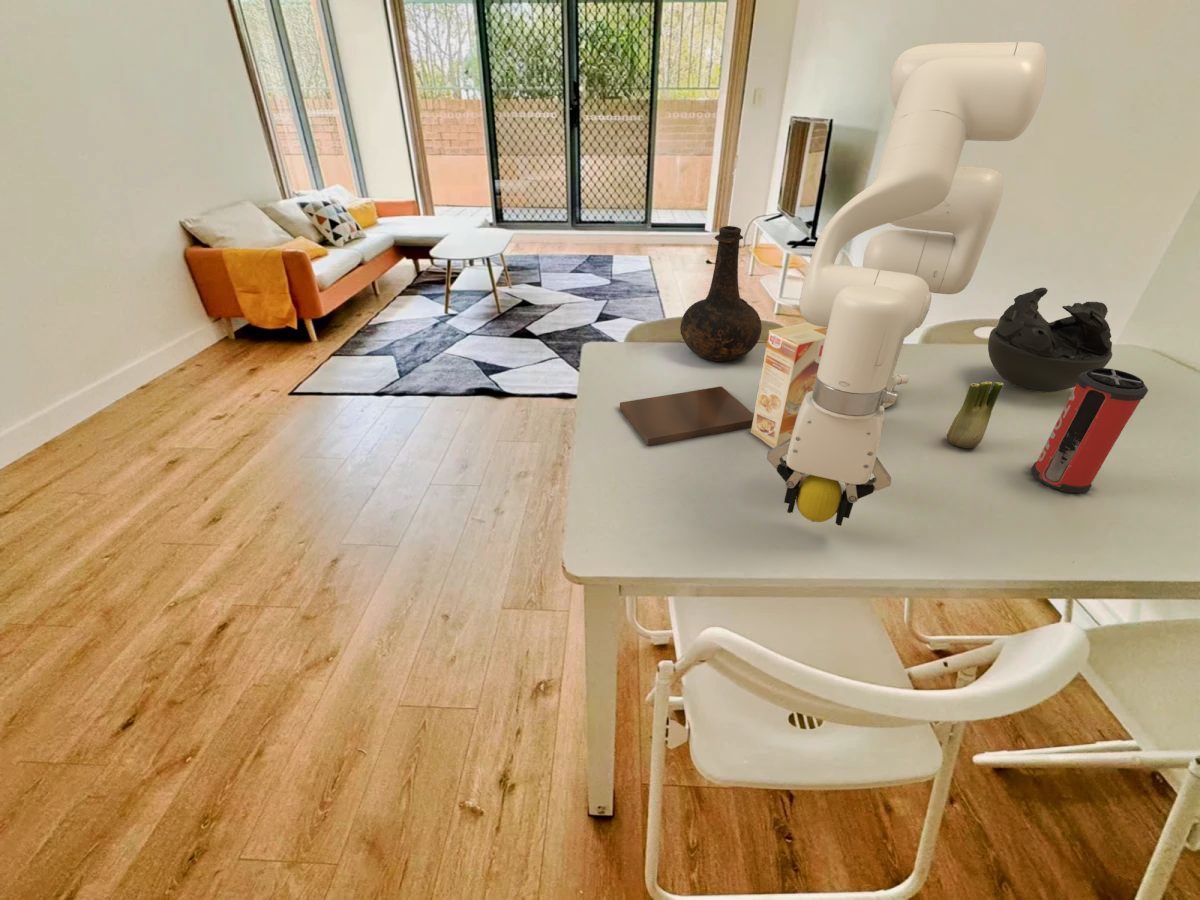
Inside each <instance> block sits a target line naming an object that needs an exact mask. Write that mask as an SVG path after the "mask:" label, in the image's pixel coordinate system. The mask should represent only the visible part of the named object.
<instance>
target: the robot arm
mask: <svg viewBox="0 0 1200 900" xmlns="http://www.w3.org/2000/svg"><path fill="white" fill-rule="evenodd" d="M1046 79H1047V52H1046V48H1045V46H1044V45H1043V44H1042V43H1040V42H1035V41H1001V42H1000V41H999V42H998V41H997V42H943V43H929V44H922V45H917V46H913V47H910V48H909V49H907V50H905V51H904V52H902V53H901V54H899V55H898V57H897V58H896V60H895V62H894V65H893V67H892V70H891V75H890V97H891V100H892V104H893V106H894V109H895V110H894V114H893V117H892V120H891V123H890V126H889V129H888V134H887V137H886V140H885V144H884V147H883V150H882V153H881V157H880V160H879V163H878V166H877V169H876V172H875V177H874V179H873V181H872V183H871V184H870V185H869V186H868V187H866V188H864V189H863V190H862V191H860V192H859V193H858V194H856V195H855V196H853V197H852V198H851V199H850V200H849V201H847V202H846V203H845V204H844V205H842V206H841V208H839V210H837V212H836V213H835V214H834V215H833V216H832V217H831V218H830V219H829V221H828V222H827V223H826V225H825V226H824V228H823V229H822V231H821V232H820V234H819V236H818V238H817V240H816V242H815V245H814V247H813V251H812V254H811V257H810V260H809V263H808V267H807V270H806V273H805V276H804V280H803V282H802V286H801V291H800V296H799V301H798V302H799V303H798V304H799V306H798V307H799V313H800V315H801V317H802V318H803V320H804V321H805V322H808V323H810V324H813V325H816V326H821V327H827V328H828V329H827V333H826V337H825V342H824V346H823V350H822V355H821V359H820V363H819V367H818V372H817V376H816V381H815V385H814V389H813V391H811V392H808V393H807V394H806V396H805V398H804V400H803V402H802V405H801V407H800V409H799V412H798V415H797V418H796V422H795V426H794V429H793V432H792V436H791V438H790V439H788V440H786V441H785V442H783V443H781V444H780V445H778V446H776V447H775V448H771V449H770V450H768V452H767V454H766V460H767V461H768V462H769V463H770V464H771V466H772V467H773V468H775V469H776V472H777V473H778V475H779V476H780V478H782V479H783V481H784V482H785V487H787V488H786V492H785V496H784V500H783V503H785V504H788V507H787V513H788V514H793V513H794V509H795V505H796V498H797V493H798V489H799V484H800V479H801V478H802V477H804V476H805V475H814V476H818V477H822V478H827V479H831V480H836V481H838V482H839V483H840V482H841V483H844V486H845V489H844V490H843V489H842V500H841V504H840V507H839V509H838V511H837V513H836V518H835V524H836V525H837V526H840V527H842V525H843V521H844V519H850V516H851V514H852V509H853V506H854V504H855V503H857V502H858V500H859V499H862V498H864V497H867V496H869V495H871V494H873V493H874V492H876V491H880V490H883V489H885V488H888V487H890V486H892V477H891V475H890V473H889V472H888V471H887V469H886V467H884V465H883V464H882V462H881V461H880V459H879V458H878V452H879V448H880V443H881V438H882V432H883V425H884V421H885V409H886V408H888V407H891V406H892V405H895V404H896V401H897V399H898V398H897V397H898V392H894V391H893V388H895V387H896V386H897V385H898V386H899V385H904V384H908V382H909V380H910V377H909V375H908V374H906V373H903V374H897V375H895V374H894V373H895V370H896V367H897V364H898V361H899V357H900V354H901V350H902V347H903V344H904V342H905V339H906V338H907V337H909V336H910V335H911V334H912V333H913V332H914V331H915V330H916V329H919V328H921V327H922V325H923V323H924V322H925V320H926V318H927V315H928V313H929V311H930V307H931V303H932V294H940V295H955V294H959V293H961V292H962V291H964V290H965V289H966V288H967V287H968V285H969V284H970V282H971V281H972V279H973V276H974V274H975V272H976V270H977V267H978V264H979V261H980V259H981V256H982V253H983V251H984V249H985V246H986V243H987V240H988V237H989V235H990V232H991V229H992V227H993V225H994V221H995V219H996V216H997V213H998V210H999V207H1000V204H1001V201H1002V197H1003V191H1004V179H1003V176H1002V175H1001V173H1000V172H999V171H997V170H996V169H993V168H989V167H983V166H970V165H969V166H968V165H958V164H959V161H960V159H961V155H962V151H963V149H964V145H965V141H975V142H1011V141H1014V140H1016V139H1017V138H1019V137H1021V135H1023V134H1024V132H1025V131H1026V130H1027V129H1028V128H1029V126H1030V124H1031V122H1032V120H1033V118H1034V117H1035V115H1036V113H1037V110H1038V108H1039V105H1040V104H1041V100H1042V96H1043V93H1044V89H1045V84H1046ZM886 224H890V225H893V226H895V227H899V228H902V229H885V230H883V231H880V232H877V233H876V234H874V235H873V236H871V238H870V239H869V240H868V242H867V244H866V246H865V249H864V254H863V259H862V266H853V265H846V264H835V263H836V260H837V258H838V255H839V253H840V251H842V249H843V247H845V245H847V243H849V242H850V241H851V240H853V239H854V238H856V237H858V236H859V235H860V234H861V235H862V234H863V233H865V232H867V231H869V230H872V229H874V228H877V227H881V226H883V225H886ZM931 231H932V232H931ZM939 232H940V233H939ZM949 233H950V234H949ZM784 456H786V460H785V459H784V458H783V457H784ZM872 475H873V476H874V477H872ZM871 477H872V478H871Z"/></svg>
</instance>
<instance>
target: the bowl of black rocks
mask: <svg viewBox="0 0 1200 900" xmlns="http://www.w3.org/2000/svg"><path fill="white" fill-rule="evenodd" d="M1048 291H1049V289H1047V287H1038V288H1035V289H1033V290H1032V291H1029V292H1025V293H1022V294H1018V295H1017V296H1016V297H1015V298H1013V301H1014V303H1013V304H1011V305H1009V307H1008V308H1007V309H1005V310H1004V312H1003V314H1002V315H1001V316H999V320H998V323H997V325H996V327H994V328H993V329H992V330H991V331H990V333H989V337H988V342H987V350H988V357H989V360H990V362H991V364H992V365H991V366H992V367H993V368H994V370H995V372H997V374H998V375H999V376H1000V377H1001V378H1002V379H1003V380H1005V381H1006V382H1007V383H1009V384H1011V385H1013V386H1015V387H1017V388H1018V389H1019V388H1020V389H1022V390H1025V391H1030V392H1035V393H1056V392H1061V391H1066V390H1069V389H1072V388H1073V389H1074V388H1075V386H1076V384H1077V379H1078V377H1079V375H1080V374H1081V373H1083V372H1086V371H1089V370H1091V369H1094V368H1106V366H1107V365H1108V364H1109V362H1110V361H1111V359H1112V357H1113V351H1112V349H1113V348H1112V346H1113V342H1112V340H1111V338H1112V333H1111V328H1110V325H1109V323H1108V321H1107V320H1106V316H1107V315H1108V312H1109V311H1108V307H1107V305H1106V303H1104V302H1101V301H1085V302H1083V303H1081V302H1074V303H1073V304H1072V305H1062V307H1061V308H1062V309H1063V310H1065V311H1066V312H1067V313H1069V314H1070V315H1069V316H1066V317H1063V318H1059V319H1056V320H1054V321H1051V322H1049V321H1047V320H1046V319H1045V318H1044V317H1043V315H1042V314H1041V313H1040V311H1039V302H1040V300H1041V299H1042V298H1043V297H1044V296H1045V295H1046V294H1047V293H1048Z"/></svg>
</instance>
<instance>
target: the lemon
mask: <svg viewBox="0 0 1200 900" xmlns="http://www.w3.org/2000/svg"><path fill="white" fill-rule="evenodd" d="M805 477H806V476H805ZM842 493H843V490H842V486H841V483H840V481H836V480H831V479H827V478H822V477H818V476H814V475H809V474H807V477H806V478H805V479H804V480H803V482H802V483H801V485H800V487H799V489H798V493H797V497H796V501H795V503H796V506H797V507H796V508H797V510H798V511H799V513H800V515H802V516H803V517H804V518H805V519H806V520H808V521H810V522H812V523H815V522H816V523H823V522H827V521H829V520H830V519H832V518H833V517H834V516H835V515H837V511H838V509H839V507H840V504H841V500H842Z"/></svg>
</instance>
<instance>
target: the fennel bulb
mask: <svg viewBox="0 0 1200 900" xmlns="http://www.w3.org/2000/svg"><path fill="white" fill-rule="evenodd" d="M992 385H993V386H992ZM1003 387H1004V383H1003V382H998V381H997V382H996V381H995V382H994V384H993V381H983V382H980V383H973V382H972V383H970V384H969V386H968V390H967V392H966V395H965V398H964V401H963V404H962V406H961V407H960V409H959V411H958V413H957V414H956V415H955V417H954V418H953V420H952V423H951V425H950V427H949V429H948V431H947V434H946V439H947V441H948V442H949V444H951V445H952V446H955V447H959V448H962V449H973V448H976V447H977V446H979V444H980V443H981V441H982V440H983V439H984V436H985V433H986V431H987V428H988V425H989V422H990V418H991V416H992V411H993V409H994V407H995V404H996V402H997V400H998V397H999V395H1000V393H1001V391H1002V389H1003Z"/></svg>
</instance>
